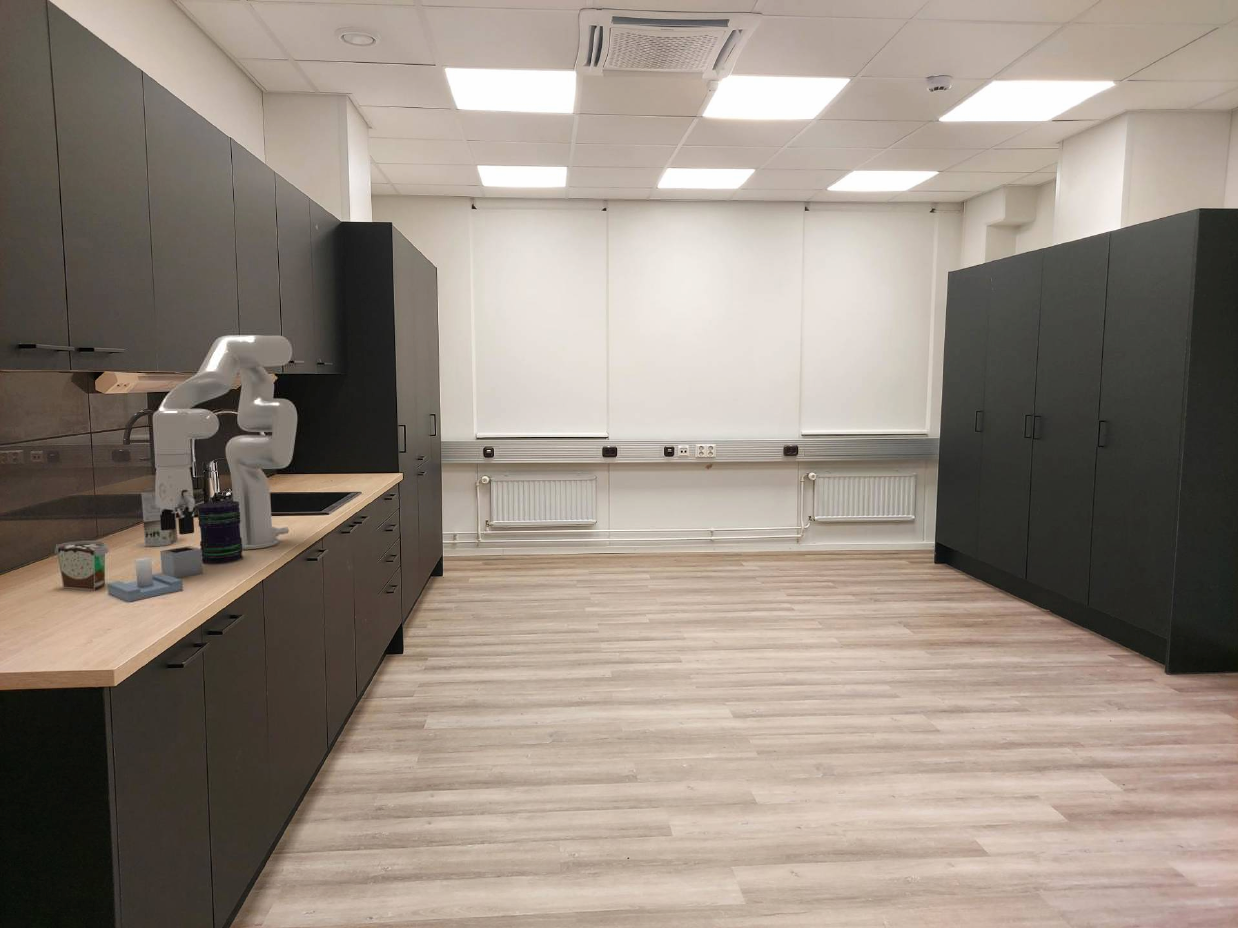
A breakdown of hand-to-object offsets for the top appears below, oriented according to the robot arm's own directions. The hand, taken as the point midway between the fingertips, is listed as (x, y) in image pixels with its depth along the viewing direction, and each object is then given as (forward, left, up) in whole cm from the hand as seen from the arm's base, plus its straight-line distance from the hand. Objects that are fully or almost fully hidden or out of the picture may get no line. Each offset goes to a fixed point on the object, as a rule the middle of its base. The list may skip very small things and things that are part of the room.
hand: (177, 531), depth 182 cm
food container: (+16, -7, -11) cm, 21 cm away
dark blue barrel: (-14, -7, -11) cm, 19 cm away
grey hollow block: (-1, 0, -11) cm, 11 cm away
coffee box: (-14, -43, -11) cm, 47 cm away
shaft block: (+11, +9, -11) cm, 18 cm away
